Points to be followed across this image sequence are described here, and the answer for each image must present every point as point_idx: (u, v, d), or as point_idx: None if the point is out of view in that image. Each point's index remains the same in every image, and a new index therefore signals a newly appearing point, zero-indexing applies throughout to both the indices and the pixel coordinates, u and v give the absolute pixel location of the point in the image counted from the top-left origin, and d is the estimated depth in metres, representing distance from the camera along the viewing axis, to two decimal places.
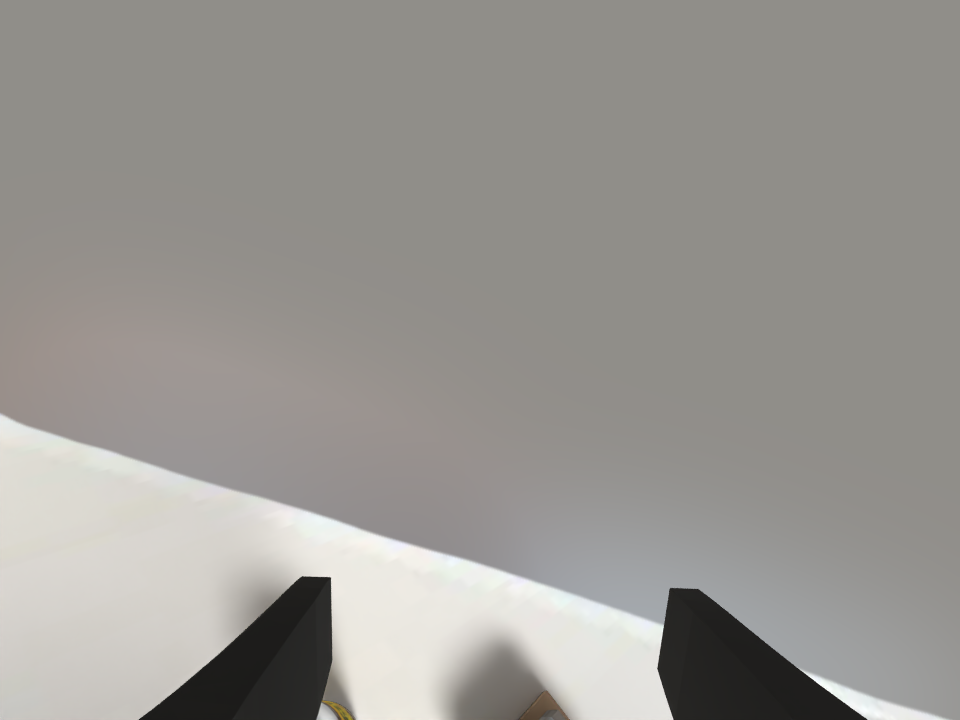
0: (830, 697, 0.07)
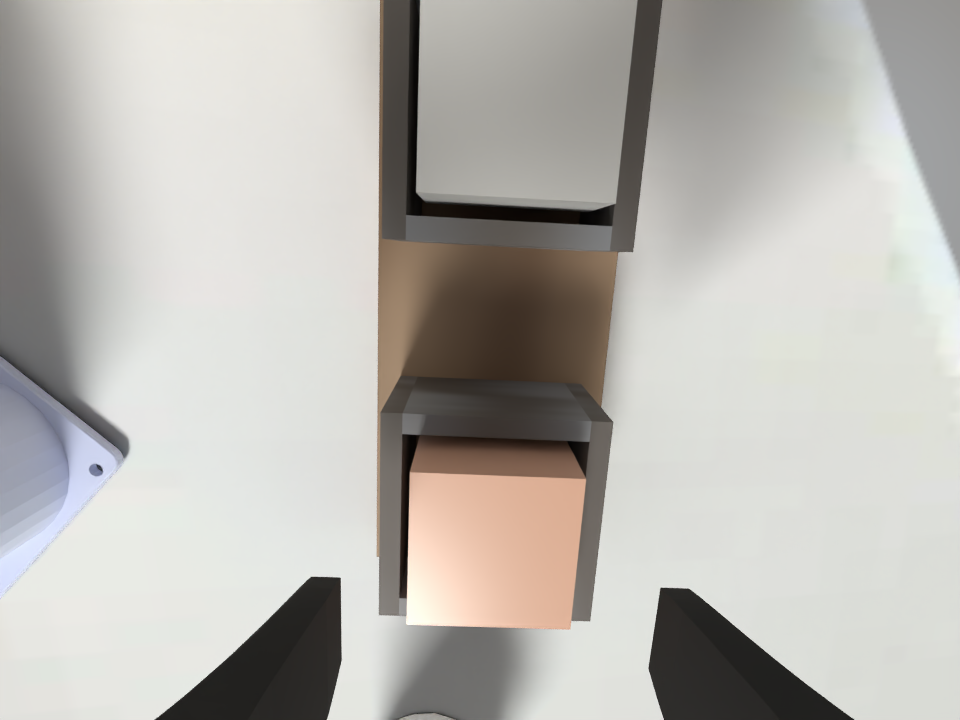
0: (817, 697, 0.07)
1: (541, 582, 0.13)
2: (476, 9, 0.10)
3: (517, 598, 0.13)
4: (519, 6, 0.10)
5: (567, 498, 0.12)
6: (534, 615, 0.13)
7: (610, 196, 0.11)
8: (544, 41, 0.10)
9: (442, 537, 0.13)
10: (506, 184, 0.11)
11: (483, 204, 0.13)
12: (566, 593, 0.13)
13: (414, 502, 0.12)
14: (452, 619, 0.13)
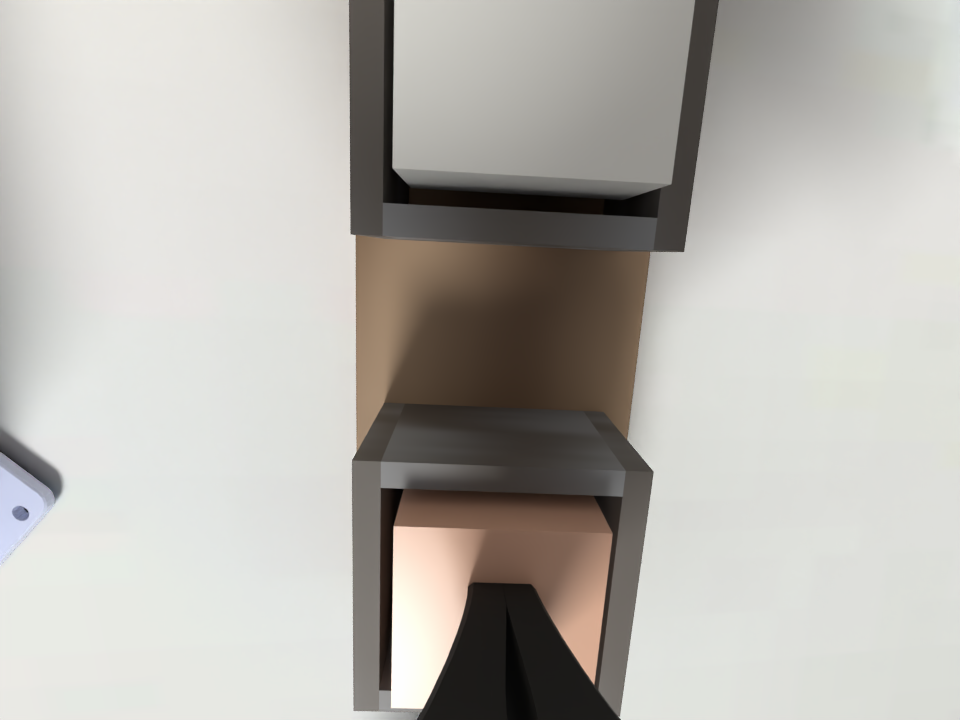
0: (591, 691, 0.07)
1: None
2: None
3: None
4: None
5: (588, 556, 0.10)
6: None
7: (664, 174, 0.08)
8: None
9: (434, 603, 0.10)
10: (519, 157, 0.08)
11: (486, 189, 0.10)
12: (586, 670, 0.11)
13: (399, 562, 0.10)
14: None
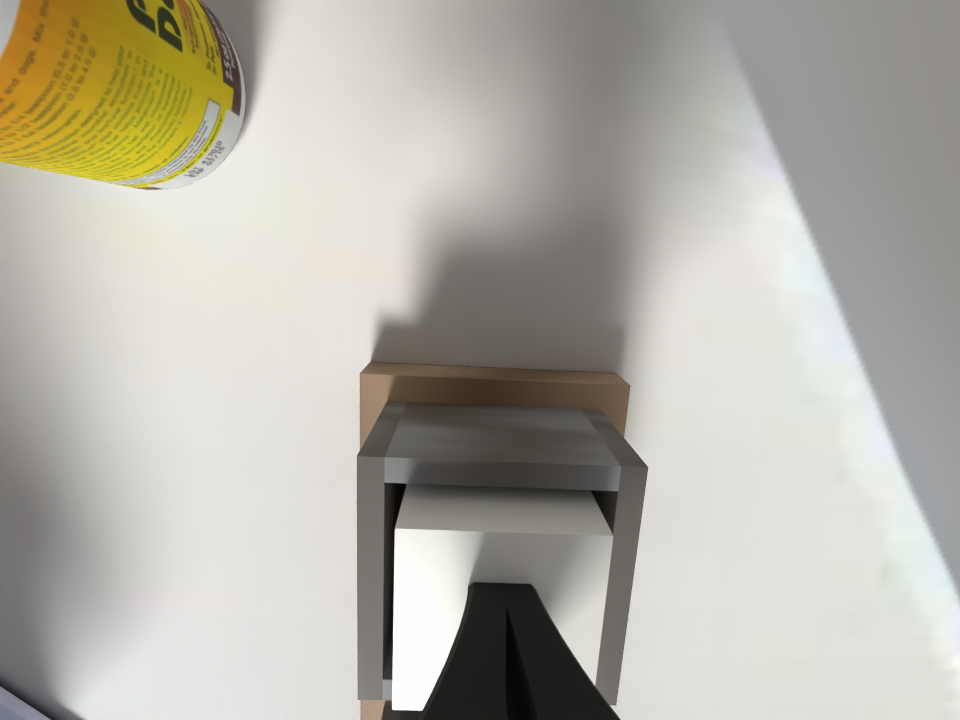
0: (590, 691, 0.07)
1: None
2: (450, 565, 0.10)
3: None
4: (493, 562, 0.10)
5: None
6: None
7: None
8: None
9: None
10: None
11: None
12: None
13: None
14: None
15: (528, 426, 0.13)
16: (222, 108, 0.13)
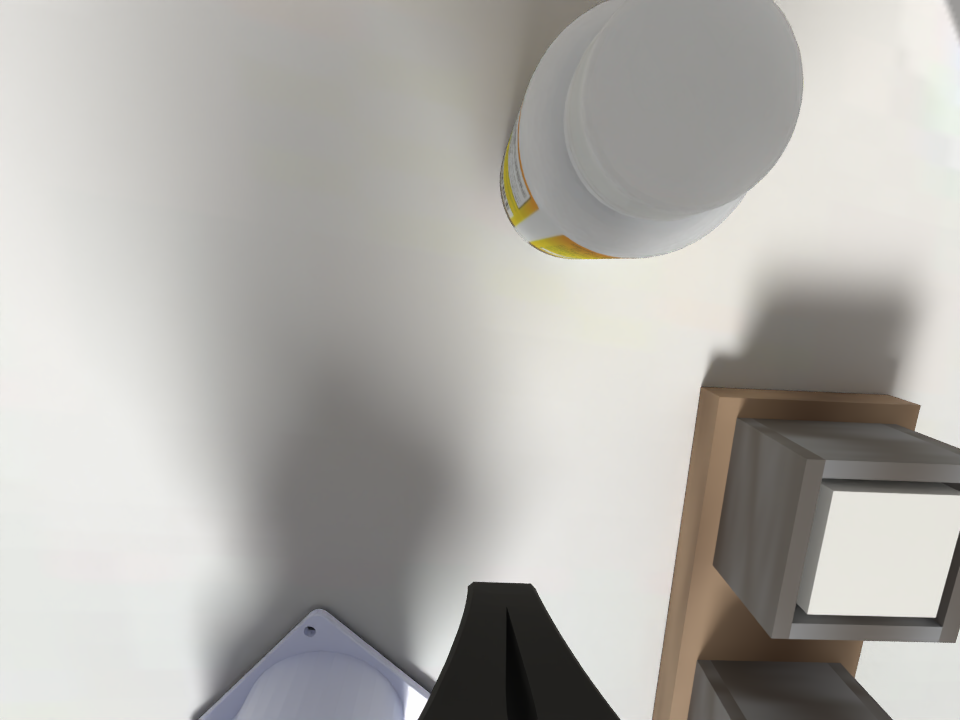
0: (590, 691, 0.07)
1: None
2: (863, 515, 0.15)
3: None
4: (890, 514, 0.15)
5: None
6: None
7: (932, 613, 0.16)
8: (903, 531, 0.16)
9: None
10: (866, 608, 0.16)
11: None
12: None
13: None
14: None
15: (872, 437, 0.17)
16: None
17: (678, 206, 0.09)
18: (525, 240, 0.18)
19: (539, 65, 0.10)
